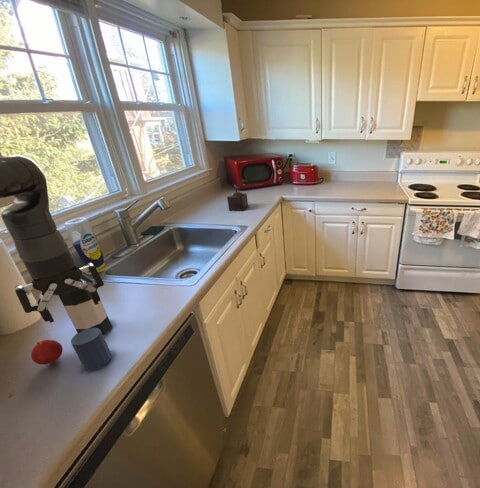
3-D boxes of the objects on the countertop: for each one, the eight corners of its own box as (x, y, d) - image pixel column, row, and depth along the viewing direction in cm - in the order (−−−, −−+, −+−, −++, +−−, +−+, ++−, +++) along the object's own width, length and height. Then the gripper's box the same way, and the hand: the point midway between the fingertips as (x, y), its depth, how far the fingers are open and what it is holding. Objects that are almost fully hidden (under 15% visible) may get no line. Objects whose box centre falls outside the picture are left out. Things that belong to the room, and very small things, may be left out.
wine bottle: (74, 344, 81) (25, 251, 68) (83, 325, 87) (40, 238, 74) (109, 335, 84) (68, 245, 71) (115, 318, 91) (79, 233, 78)
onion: (44, 357, 76) (31, 335, 73) (70, 351, 78) (58, 329, 75) (34, 374, 71) (19, 351, 68) (62, 367, 73) (49, 344, 70)
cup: (80, 373, 72) (66, 347, 68) (89, 355, 77) (76, 330, 73) (107, 366, 73) (95, 341, 69) (115, 350, 78) (103, 325, 75)
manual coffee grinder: (244, 211, 187) (241, 184, 179) (228, 210, 187) (224, 184, 179) (251, 204, 201) (248, 178, 193) (236, 203, 201) (233, 178, 193)
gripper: (82, 237, 68) (105, 292, 75) (-4, 259, 58) (32, 319, 65) (89, 246, 63) (113, 304, 70) (-2, 271, 54) (37, 335, 61)
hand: (74, 311), depth 68 cm, fingers open, 8 cm apart
